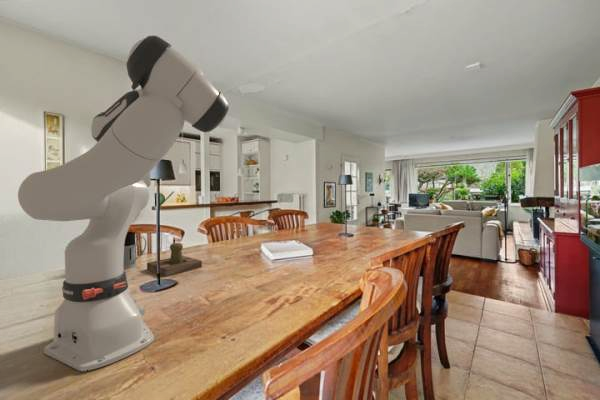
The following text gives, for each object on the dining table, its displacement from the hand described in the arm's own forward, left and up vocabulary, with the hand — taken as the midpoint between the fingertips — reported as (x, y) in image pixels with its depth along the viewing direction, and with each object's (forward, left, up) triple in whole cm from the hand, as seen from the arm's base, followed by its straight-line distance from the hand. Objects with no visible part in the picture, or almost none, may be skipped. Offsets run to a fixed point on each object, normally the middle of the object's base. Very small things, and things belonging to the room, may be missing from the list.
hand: (132, 199), depth 96 cm
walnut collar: (+8, -20, -31) cm, 38 cm away
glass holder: (+26, -10, -31) cm, 42 cm away
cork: (+8, -21, -31) cm, 39 cm away
